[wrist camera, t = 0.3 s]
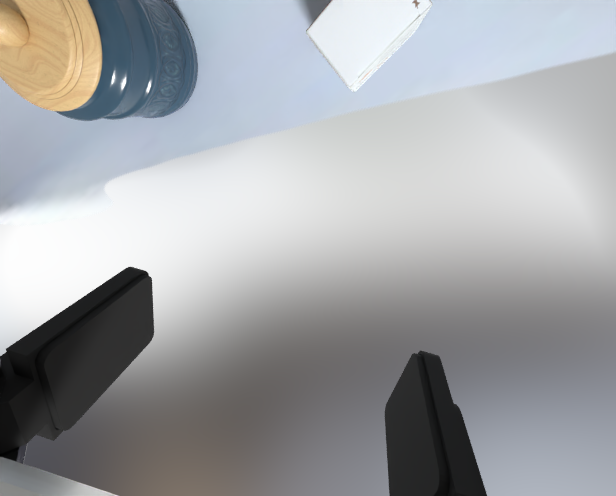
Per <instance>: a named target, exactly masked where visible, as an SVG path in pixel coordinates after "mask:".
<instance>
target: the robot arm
mask: <svg viewBox="0 0 616 496" xmlns="http://www.w3.org/2000/svg"><path fill="white" fill-rule="evenodd" d="M153 335H154V320H153V296H152V278H151V277H149V275H148V273H147V272H146V271H144V270H140V269H137V268H133V267H128V268H126V269H124V270H123V271H121V272H120V273H118V274H117V275H115V276H114V277H112V278H111V279H109V280H108V281H106V282H105V283H103V284H102V285H101V286H99V287H98V288H96V289H95V290H93V291H92V292H90V293H89V294H87V295H86V296H84V297H83V298H81V299H80V300H78V301H77V302H75V303H74V304H72V305H71V306H69V307H68V308H66V309H65V310H63V311H62V312H60V313H59V314H57V315H56V316H54V317H53V318H51V319H50V320H48V321H47V322H46V323H44V324H42V325H41V326H39V327H38V328H37V329H35V330H33V331H32V332H30V333H29V334H28V335H26V336H25V337H23V338H22V339H20V340H19V341H17V342H16V343H14V344H13V345H11V346H10V347H8V348H7V349H6V351H7V352H6V353H5V354H3V355H2V356H0V496H118V495H114V494H112V493H109V492H106V491H103V490H100V489H97V488H94V487H91V486H88V485H85V484H82V483H79V482H76V481H73V480H70V479H67V478H64V477H61V476H58V475H56V474H52V473H50V472H47V471H44V470H41V469H38V468H35V467H31V466H28V465H25V464H23V463H24V458H25V453H26V448H27V443H28V442H29V441H30V440H31V439H32V438H33V437H34V436H35V435H36V434H37V435H39V436H42V437H45V438H47V439H50V440H53V441H54V440H55V439H56V438H57V437H58V436H59V435H60V434H61V433H62V431H63V430H64V431H66V430H68V429H70V428H71V427H72V426H73V425H74V424H75V423H76V422H77V421H78V420H79V419H80V418H81V417H82V415H84V413H85V412H86V411H87V410H88V409H89V408H90V407H91V406H92V405H93V404H94V403H95V402H96V401H97V399H98V398H99V397H100V396H101V395H102V394H103V393H104V392H105V391H106V390H107V388H108V387H109V386H110V385H111V384H112V383H113V382H114V381H115V380H116V379H117V378H118V377H119V375H120V374H121V373H122V372H123V371H124V370H125V369H126V368H127V367H128V366H129V365H130V364H131V362H132V361H133V360H134V359H135V358H136V357H137V356H138V355H139V354H140V353H141V352H142V350H143V349H144V348H145V347H146V346H147V345H148V344H149V343H150V341H151V340H152V338H153ZM385 426H386V443H387V458H388V476H389V493H390V496H487V494H486V491H485V488H484V485H483V481H482V478H481V475H480V472H479V468H478V465H477V462H476V459H475V455H474V453H473V449H472V446H471V443H470V439H469V436H468V433H467V430H466V427H465V423H464V420H463V417H462V414H461V411H460V409H459V407H458V406H457V405H456V404H453V400H452V397H451V394H450V390H449V387H448V384H447V380H446V376H445V373H444V370H443V366H442V363H441V360H440V357H439V356H438V355H434V354H431V353H427V352H424V351H420V352H419V353H418V354H415V353H414V354H412V356H411V358H410V360H409V361H408V364H407V365H406V367H405V369H404V371H403V373H402V375H401V377H400V379H399V381H398V383H397V385H396V387H395V388H394V390H393V392H392V394H391V396H390V398H389V400H388V402H387V404H386V408H385Z"/></svg>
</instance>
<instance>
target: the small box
mask: <svg viewBox="0 0 616 496" xmlns="http://www.w3.org/2000/svg"><path fill="white" fill-rule="evenodd" d="M431 6H432V2H431V0H331V1H330V3H329V4H328V5H327V6H326V7H325V9H324V10H323V11H322V12H321V13H320V15H319V16H318V17H317V18H316V20H315V21H314V22H313V23H312V24H311V26H310V27H309V28H308V29H307V30H306V34H307V35H308V36H309V38H310V39H311V41H312V42H313V43H314V45H315V46H316V47H317V49H318V50H319V51H320V53H321V54H322V55H323V57H324V58H325V59H326V60H327V62H328V63H329V64H330V66H331V67H332V68H333V69H334V71H335V72H336V73H337V74H338V76H339V77H340V78H341V79H342V81H343V82H344V83H345V85H346V86H347V87H348V88H349V89H350V90H352V91H353V92H356V91H357V90H358V89H359V88H360V87H361V86H362V85H363V84H364V83H365V82H366V81H367V80H368V79H369V78H370V77H371V76H372V75H373V74H374V73H375V72H376V71H377V70H378V69H379V68H380V67H381V66H382V65H383V64H384V63H385V62H386V61H387V60H388V59H389V58H390V57H391V56H392V55H393V54H394V53H395V52H396V51H397V50H398V49H399V48H400V47H401V46H402V45H403V44H404V43H405V42H406V41H407V40H408V39H409V38H410V37H411V36H412V35H413V34H414V32H415V31H416V29H417V28H418V27H419V25H420V23H421V22H422V20H423V19H424V17H425V15H426V14H427V12H428V11H429V9H430V8H431Z"/></svg>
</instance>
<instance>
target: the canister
mask: <svg viewBox="0 0 616 496" xmlns="http://www.w3.org/2000/svg"><path fill="white" fill-rule="evenodd" d="M197 71H198V64H197V55H196V50H195V46H194V43H193V40H192V37H191V35H190V32H189V30H188V28H187V27H186V25H185V23H184V22H183V20H182V19H181V17H180V16H179V15H178V14H177V12H176V11H175V10H174V9H173V8H172V7H171V6H170V5H169V4H168V3H167V2H166V1H165V0H0V77H1V78H2V79H3V80H4V81H5V82H6V83H7V84H8V85H9V86H10V87H11V88H12V89H13V90H14V91H15V92H16V93H18V94H19V95H20V96H21V97H23V98H24V99H26V100H27V101H29V102H31V103H32V104H34V105H36V106H39V107H41V108H44V109H47V110H52V111H55V112H57V113H59V114H61V115H63V116H66V117H68V118H71V119H75V120H81V121H92V120H98V119H101V118H104V119H112V120H114V119H123V118H127V117H145V118H158V117H164V116H167V115H169V114H171V113H173V112H176V111H177V110H179V109H180V108H182V107H183V106H184V105H185V104H186V103H187V101H188V100H189V98H190V97H191V95H192V93H193V91H194V88H195V84H196V80H197Z"/></svg>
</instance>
